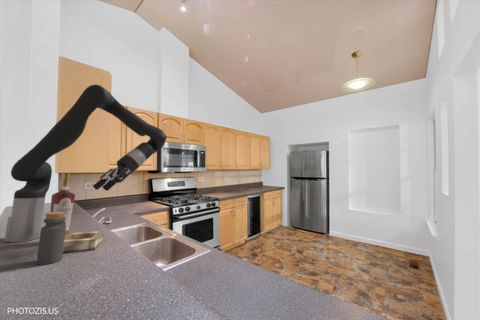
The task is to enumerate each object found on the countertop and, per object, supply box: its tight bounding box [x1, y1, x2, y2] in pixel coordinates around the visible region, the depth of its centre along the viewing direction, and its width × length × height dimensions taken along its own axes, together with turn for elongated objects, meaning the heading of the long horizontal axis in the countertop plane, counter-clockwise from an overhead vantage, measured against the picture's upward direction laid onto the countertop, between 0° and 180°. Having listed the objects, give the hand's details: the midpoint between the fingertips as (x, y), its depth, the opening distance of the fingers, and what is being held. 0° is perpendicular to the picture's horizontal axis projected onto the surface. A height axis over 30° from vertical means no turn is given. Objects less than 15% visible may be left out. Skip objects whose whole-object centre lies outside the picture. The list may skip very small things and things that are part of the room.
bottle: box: [36, 211, 66, 266], centre depth 62 cm, size 6×6×15 cm
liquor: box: [50, 172, 76, 235], centre depth 81 cm, size 7×7×28 cm
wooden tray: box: [63, 230, 105, 254], centre depth 75 cm, size 12×12×4 cm
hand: (99, 188), depth 73 cm, fingers open, 8 cm apart
